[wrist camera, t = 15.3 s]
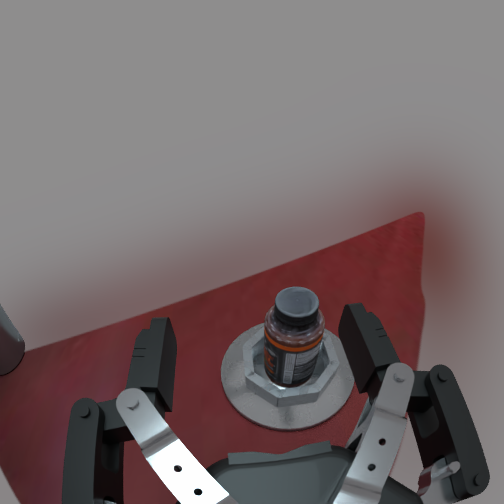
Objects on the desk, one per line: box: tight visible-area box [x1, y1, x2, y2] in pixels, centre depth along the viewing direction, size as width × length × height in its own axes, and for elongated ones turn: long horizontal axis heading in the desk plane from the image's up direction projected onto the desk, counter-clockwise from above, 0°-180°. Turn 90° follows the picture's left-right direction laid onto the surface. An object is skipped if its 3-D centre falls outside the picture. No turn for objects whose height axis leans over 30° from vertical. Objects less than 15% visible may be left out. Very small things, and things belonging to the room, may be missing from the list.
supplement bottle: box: [264, 287, 325, 387], centre depth 28 cm, size 6×6×11 cm
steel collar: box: [221, 323, 354, 431], centre depth 31 cm, size 16×16×4 cm
